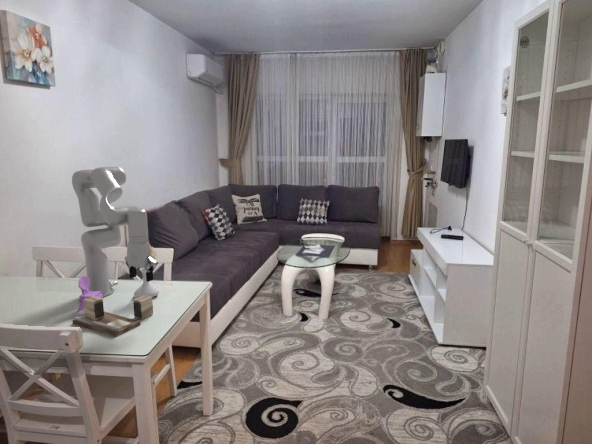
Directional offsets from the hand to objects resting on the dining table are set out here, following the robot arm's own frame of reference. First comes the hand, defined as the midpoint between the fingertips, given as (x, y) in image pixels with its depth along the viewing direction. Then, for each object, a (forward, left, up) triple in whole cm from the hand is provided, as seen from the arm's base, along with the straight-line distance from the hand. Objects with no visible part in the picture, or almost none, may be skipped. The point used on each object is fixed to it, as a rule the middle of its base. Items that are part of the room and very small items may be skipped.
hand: (141, 278), depth 171 cm
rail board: (+13, -7, -17) cm, 22 cm away
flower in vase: (-18, -17, -17) cm, 30 cm away
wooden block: (0, 0, -17) cm, 17 cm away
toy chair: (+6, -26, -17) cm, 31 cm away
